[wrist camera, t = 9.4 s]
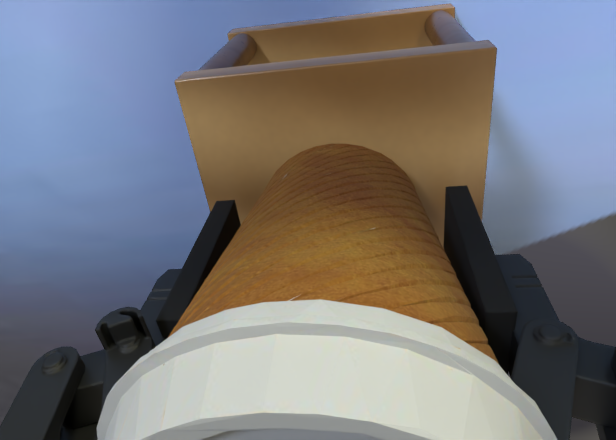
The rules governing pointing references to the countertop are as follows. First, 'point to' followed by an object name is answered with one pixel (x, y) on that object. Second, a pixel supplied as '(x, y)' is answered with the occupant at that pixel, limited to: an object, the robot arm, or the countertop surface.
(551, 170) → the countertop surface
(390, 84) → the oak rack
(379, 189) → the disposable coffee cup
